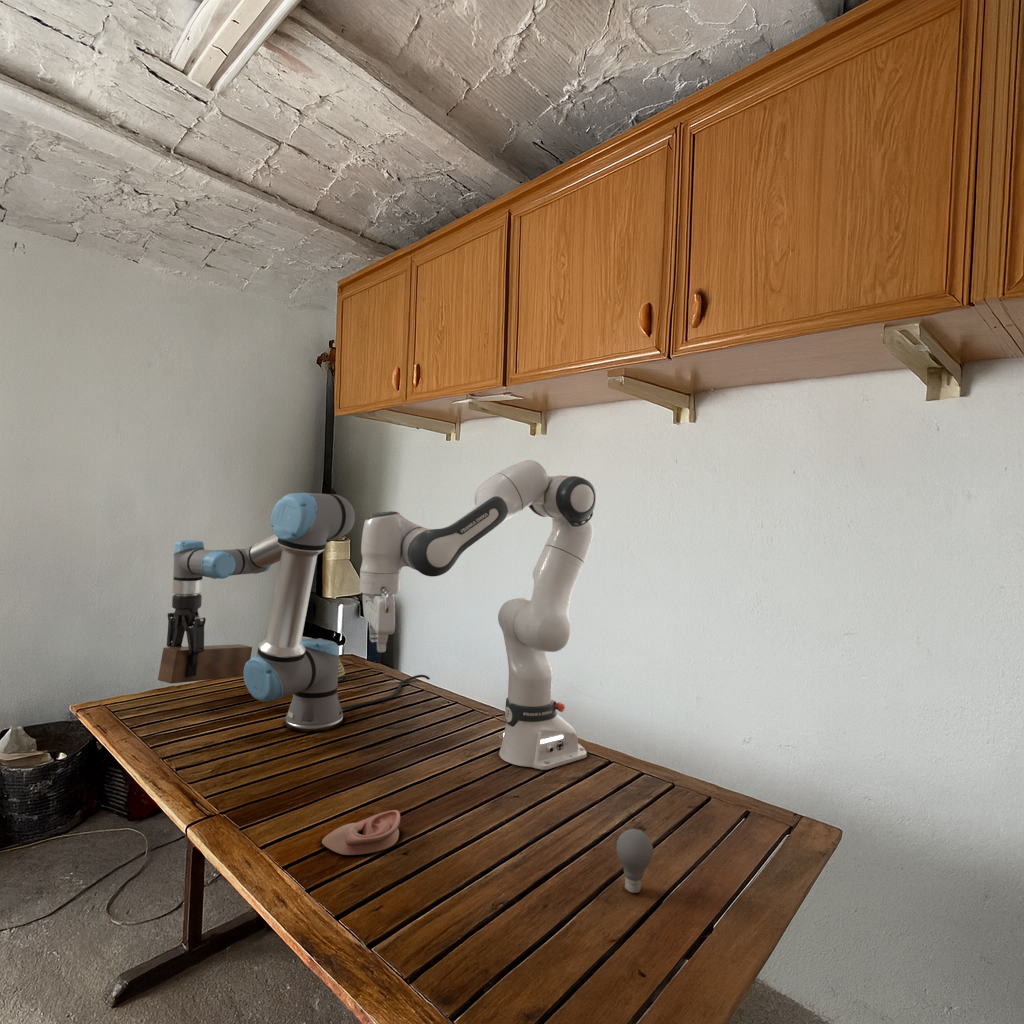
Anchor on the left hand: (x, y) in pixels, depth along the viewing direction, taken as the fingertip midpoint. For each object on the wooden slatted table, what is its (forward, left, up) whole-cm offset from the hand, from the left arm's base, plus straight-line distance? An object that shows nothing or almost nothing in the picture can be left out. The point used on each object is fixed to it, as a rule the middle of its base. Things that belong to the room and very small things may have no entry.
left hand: (184, 674), depth 182 cm
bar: (-7, -2, -3) cm, 8 cm away
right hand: (-8, +76, +20) cm, 79 cm away
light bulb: (-12, +138, -10) cm, 139 cm away
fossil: (-43, +2, -10) cm, 44 cm away
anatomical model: (+9, +93, -10) cm, 94 cm away
